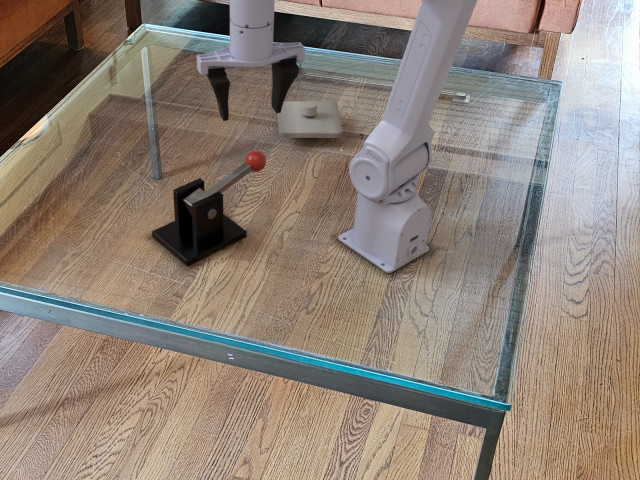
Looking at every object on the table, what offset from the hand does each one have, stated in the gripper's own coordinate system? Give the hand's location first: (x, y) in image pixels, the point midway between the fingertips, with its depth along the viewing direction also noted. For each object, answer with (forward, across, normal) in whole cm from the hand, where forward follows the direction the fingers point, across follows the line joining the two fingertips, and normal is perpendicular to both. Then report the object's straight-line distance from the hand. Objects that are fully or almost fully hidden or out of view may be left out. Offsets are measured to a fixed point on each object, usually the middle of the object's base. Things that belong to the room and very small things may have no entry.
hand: (250, 113), depth 117 cm
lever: (+5, +6, +11) cm, 13 cm away
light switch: (+10, -13, -9) cm, 19 cm away
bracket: (+10, +11, +12) cm, 19 cm away
